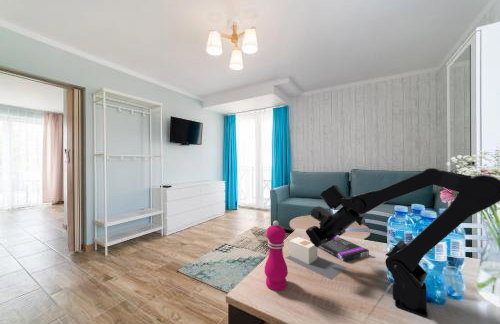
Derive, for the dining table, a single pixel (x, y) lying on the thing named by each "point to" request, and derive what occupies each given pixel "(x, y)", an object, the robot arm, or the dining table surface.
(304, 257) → the block
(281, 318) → the dining table surface
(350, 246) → the box
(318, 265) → the mat
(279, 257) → the pepper mill
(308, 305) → the dining table surface
